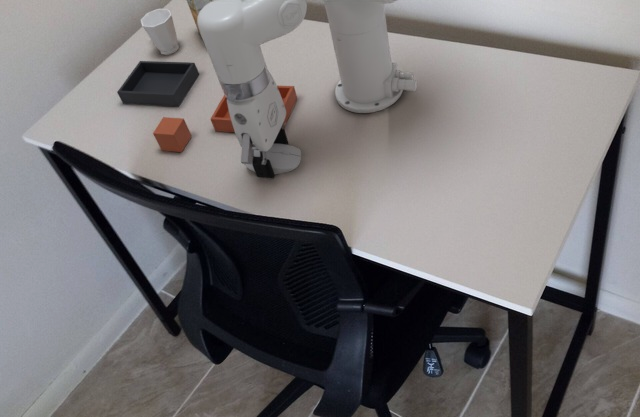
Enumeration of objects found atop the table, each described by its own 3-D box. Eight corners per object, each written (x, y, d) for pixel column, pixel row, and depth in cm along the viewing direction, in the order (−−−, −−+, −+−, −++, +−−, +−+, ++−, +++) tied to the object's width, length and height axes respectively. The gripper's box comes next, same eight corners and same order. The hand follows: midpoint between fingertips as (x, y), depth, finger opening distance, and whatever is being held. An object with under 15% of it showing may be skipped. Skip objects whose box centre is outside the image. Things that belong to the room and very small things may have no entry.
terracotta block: (191, 135, 121) (183, 118, 118) (182, 152, 119) (173, 134, 116) (171, 134, 123) (163, 116, 120) (161, 150, 120) (152, 133, 117)
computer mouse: (300, 173, 109) (297, 160, 107) (244, 178, 111) (239, 166, 109) (303, 148, 113) (299, 136, 111) (248, 154, 115) (244, 142, 113)
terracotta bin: (297, 98, 122) (294, 86, 120) (279, 135, 116) (275, 123, 114) (235, 95, 127) (230, 83, 125) (215, 131, 121) (210, 119, 119)
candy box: (197, 31, 145) (173, -32, 134) (214, 24, 146) (191, -40, 134) (210, 49, 139) (185, -15, 128) (227, 41, 140) (205, -23, 129)
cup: (165, 62, 139) (151, 30, 133) (141, 48, 145) (126, 17, 139) (190, 45, 142) (177, 13, 136) (165, 32, 148) (152, 0, 142)
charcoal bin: (199, 74, 134) (194, 62, 132) (178, 106, 128) (173, 95, 126) (145, 72, 138) (139, 60, 136) (123, 103, 132) (116, 92, 130)
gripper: (246, 118, 92) (276, 201, 105) (285, 44, 102) (309, 128, 115) (200, 115, 95) (235, 196, 108) (243, 43, 105) (270, 125, 118)
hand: (273, 160), depth 111 cm, fingers closed on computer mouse, 6 cm apart
